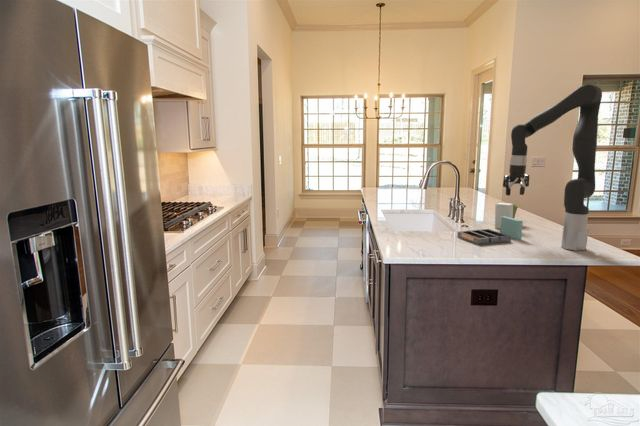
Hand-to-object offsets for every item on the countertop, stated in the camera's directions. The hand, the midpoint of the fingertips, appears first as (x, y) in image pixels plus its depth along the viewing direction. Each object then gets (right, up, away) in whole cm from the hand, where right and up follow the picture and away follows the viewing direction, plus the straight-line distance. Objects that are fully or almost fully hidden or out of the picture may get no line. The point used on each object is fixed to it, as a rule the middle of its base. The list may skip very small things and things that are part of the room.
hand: (514, 195), depth 206 cm
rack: (-17, -23, 0) cm, 29 cm away
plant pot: (+13, -16, +37) cm, 42 cm away
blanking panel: (0, -22, +4) cm, 23 cm away
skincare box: (+4, -19, +23) cm, 30 cm away
